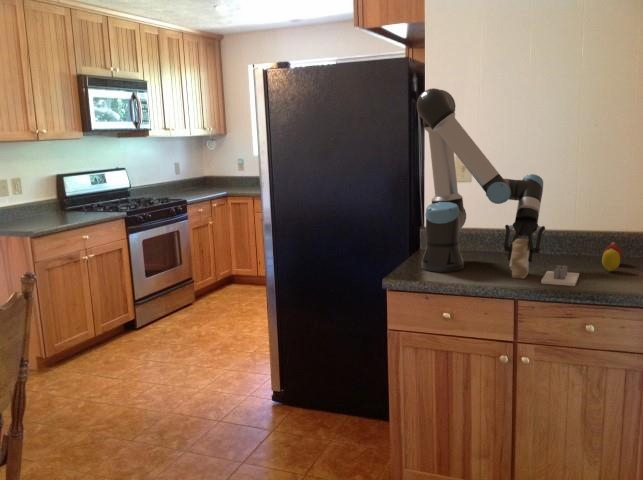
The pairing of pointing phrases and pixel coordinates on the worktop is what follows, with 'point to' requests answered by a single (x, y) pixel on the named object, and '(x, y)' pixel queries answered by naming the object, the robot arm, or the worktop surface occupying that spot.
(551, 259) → the worktop surface
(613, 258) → the lemon
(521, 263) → the tan wooden block
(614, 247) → the onion
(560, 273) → the peg rest
